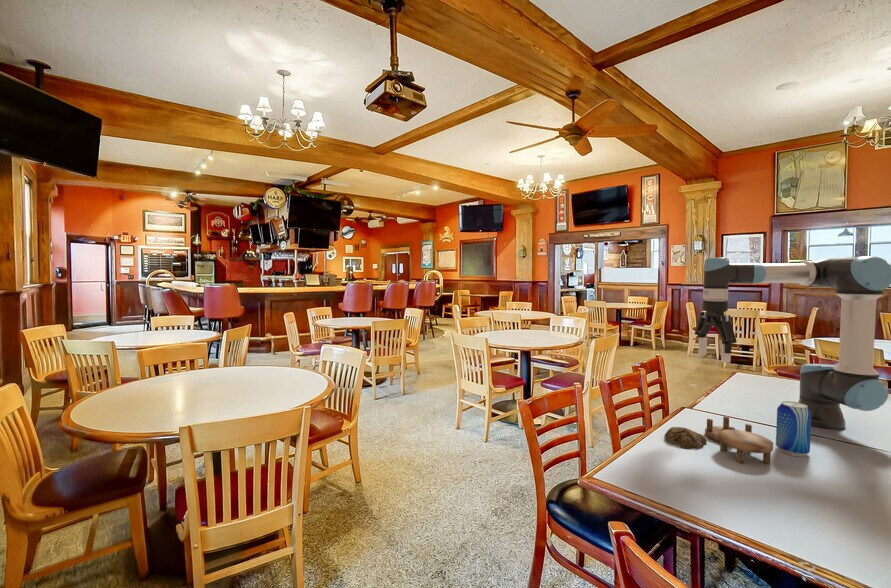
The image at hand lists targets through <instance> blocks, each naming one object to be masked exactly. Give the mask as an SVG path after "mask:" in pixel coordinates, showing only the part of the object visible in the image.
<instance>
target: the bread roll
mask: <svg viewBox="0 0 891 588" xmlns="http://www.w3.org/2000/svg"><path fill="white" fill-rule="evenodd" d="M664 437H665V442H667V443H668V444H671V445H677V446H679V447H680V448H682V449H686V450H693V449H695V450H699V449H702V448H703V449H704V446H707V445H708V443H707V441H708V440H707V439H706V437H705V436H704V435H703V434H702V433H698V432H696V431H694V430H691V429H690V428H686V427H681V426H672V427H669V429H667V430H666V432H665V434H664Z"/></svg>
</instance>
